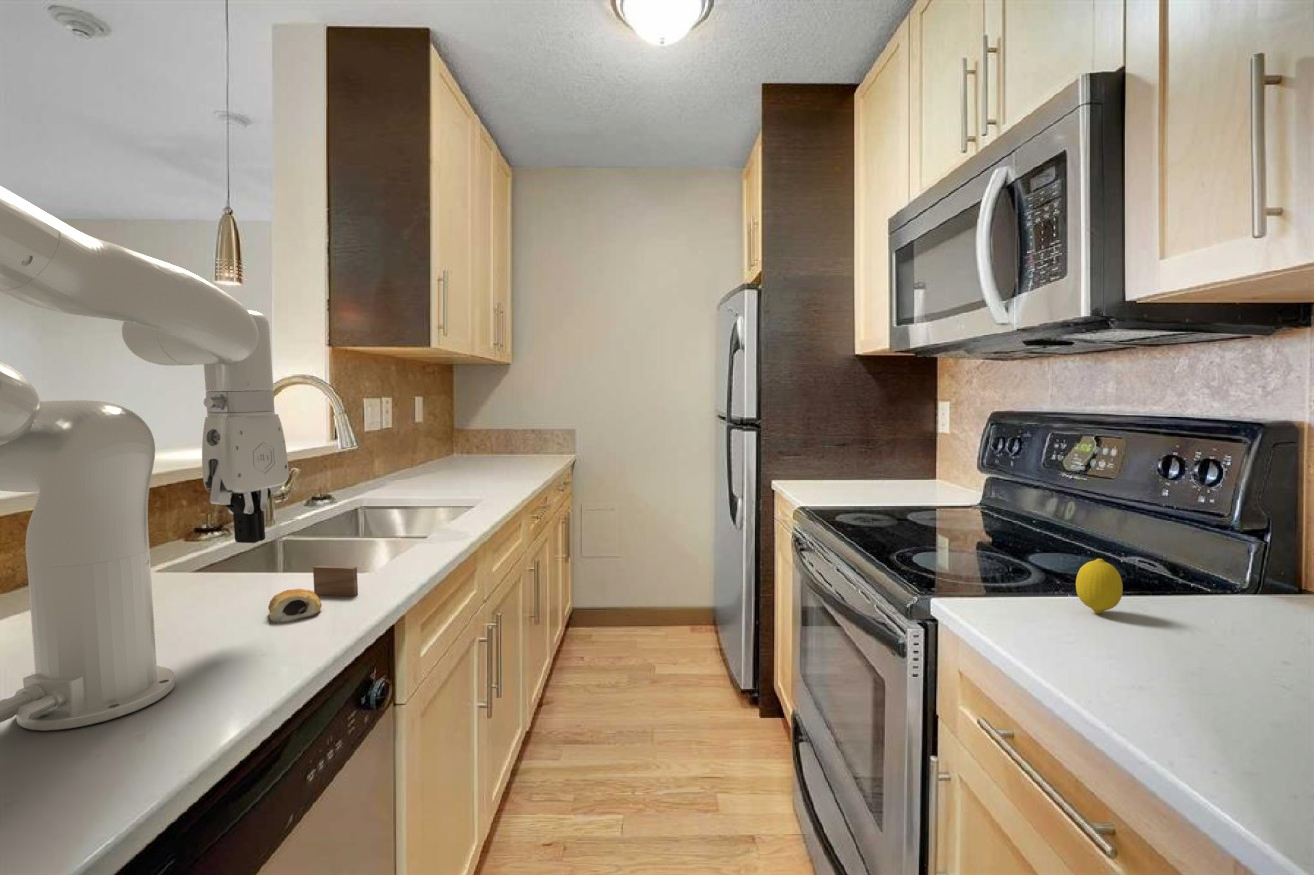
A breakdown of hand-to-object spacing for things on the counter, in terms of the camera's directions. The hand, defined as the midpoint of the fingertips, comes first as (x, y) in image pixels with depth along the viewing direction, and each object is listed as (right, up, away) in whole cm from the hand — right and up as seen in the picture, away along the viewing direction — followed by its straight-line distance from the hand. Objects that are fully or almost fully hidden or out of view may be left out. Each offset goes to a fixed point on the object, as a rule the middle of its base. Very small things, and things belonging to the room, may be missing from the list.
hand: (250, 540), depth 86 cm
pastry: (+1, -13, +9) cm, 15 cm away
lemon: (+118, -12, +6) cm, 119 cm away
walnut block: (+3, -11, +17) cm, 21 cm away
